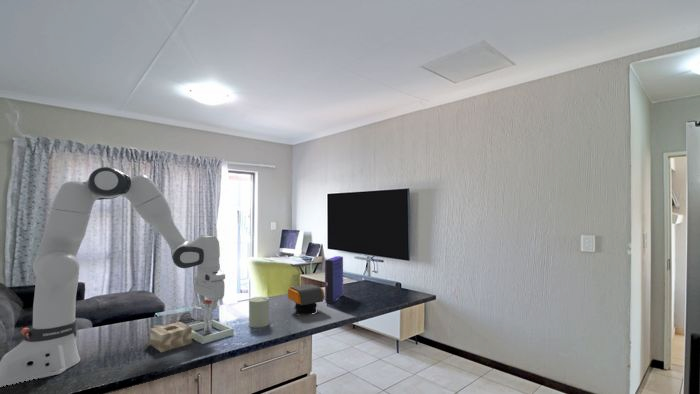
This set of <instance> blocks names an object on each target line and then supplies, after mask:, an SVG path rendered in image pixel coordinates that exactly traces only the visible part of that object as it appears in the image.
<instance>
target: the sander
mask: <svg viewBox="0 0 700 394" xmlns="http://www.w3.org/2000/svg"><path fill="white" fill-rule="evenodd" d="M287 299H288V300H290V301H292V302H294V303H295V305H294V308H295V310H294V314H295V315H296V314H299V315H298V316H310V315H309V314H312V313H315V312H316V309H317V307H318V305H317V303H323V302H324V300H325V290H324V289H323V288H322V287H320V286H318V285H315V284H313V283H308V284H303V285H301V284H300V285H296V286H294V285H292V286H290V287H289V288H288V290H287ZM315 314H316V313H315Z"/></svg>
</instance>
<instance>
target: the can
mask: <svg viewBox="0 0 700 394" xmlns="http://www.w3.org/2000/svg"><path fill="white" fill-rule="evenodd" d="M269 325H270V297H268V296H255V297H251V298H250V299H248V327H250V328H255V329H258V328H259V329H261V328H265V327H266V326H269Z"/></svg>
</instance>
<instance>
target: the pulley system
mask: <svg viewBox="0 0 700 394" xmlns="http://www.w3.org/2000/svg"><path fill="white" fill-rule="evenodd" d="M178 318H179V319H178ZM212 320H215V321H217V322H219V320H220V319H219V317H214V318H213V317H212ZM198 321H199V322H200V323H201V322H204V314H203V315H197V316H196V319H195V318H193V315H192V312H183V313H180V316H179V317H178V313H174V314H170V319H169V324H172V323H176V322H182V323H184V324H192V323H194V322H198ZM164 325H165V324H160V325H159V324H157V325H153V328H156V327H160V326H164ZM166 325H168V324H166Z"/></svg>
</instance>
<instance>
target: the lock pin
mask: <svg viewBox="0 0 700 394" xmlns="http://www.w3.org/2000/svg"><path fill="white" fill-rule="evenodd" d="M211 305H212V299H205V301H204V305H203V316H204V328H203V336H206V335H210V334H213V327H212V319H213V309H211Z"/></svg>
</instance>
